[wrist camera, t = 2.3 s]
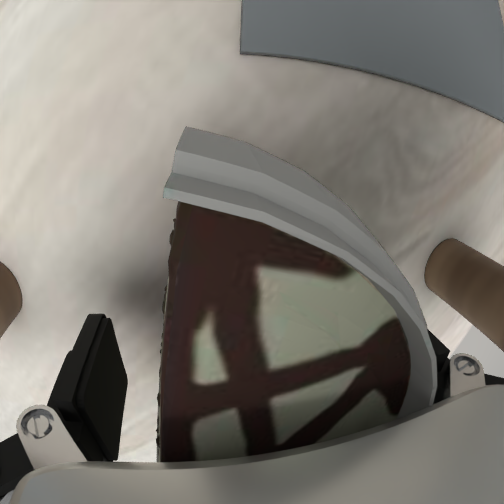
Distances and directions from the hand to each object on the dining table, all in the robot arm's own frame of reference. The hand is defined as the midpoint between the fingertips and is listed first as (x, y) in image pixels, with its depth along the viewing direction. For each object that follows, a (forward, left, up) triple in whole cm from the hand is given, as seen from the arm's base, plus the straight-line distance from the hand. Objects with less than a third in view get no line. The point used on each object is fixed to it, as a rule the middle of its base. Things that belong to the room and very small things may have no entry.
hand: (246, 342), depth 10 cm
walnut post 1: (+13, 0, -4) cm, 13 cm away
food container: (0, 0, -4) cm, 4 cm away
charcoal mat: (-9, -17, -4) cm, 20 cm away
